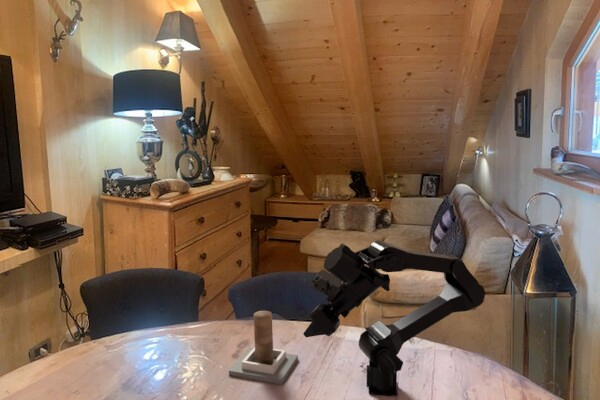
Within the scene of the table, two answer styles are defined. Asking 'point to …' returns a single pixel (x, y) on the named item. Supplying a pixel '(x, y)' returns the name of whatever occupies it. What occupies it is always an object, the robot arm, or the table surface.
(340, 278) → the robot arm
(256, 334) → the walnut post
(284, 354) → the grey framed base plate
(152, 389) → the table surface
